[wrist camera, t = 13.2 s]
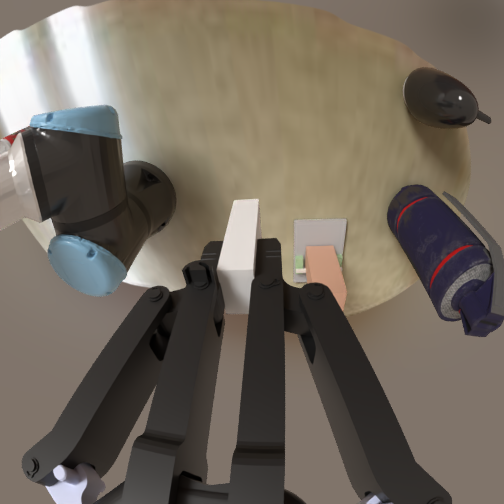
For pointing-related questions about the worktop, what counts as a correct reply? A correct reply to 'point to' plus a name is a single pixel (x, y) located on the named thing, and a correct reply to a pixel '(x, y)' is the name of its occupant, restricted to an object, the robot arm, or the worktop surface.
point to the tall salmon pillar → (325, 270)
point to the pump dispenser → (440, 100)
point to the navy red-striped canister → (450, 258)
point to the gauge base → (316, 240)
